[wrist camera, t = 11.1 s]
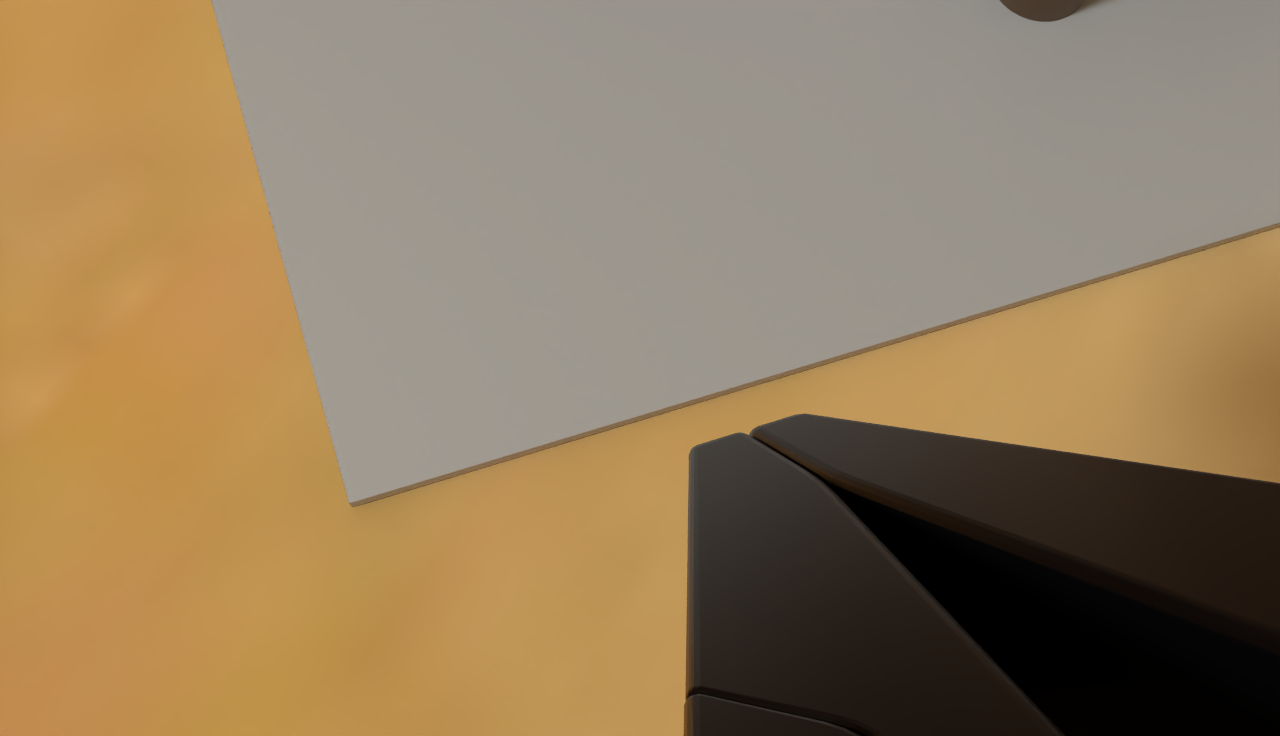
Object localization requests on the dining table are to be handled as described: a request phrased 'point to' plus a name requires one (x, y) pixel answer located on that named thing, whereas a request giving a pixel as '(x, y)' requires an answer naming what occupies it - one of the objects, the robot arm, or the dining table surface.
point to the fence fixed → (1043, 8)
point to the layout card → (712, 191)
